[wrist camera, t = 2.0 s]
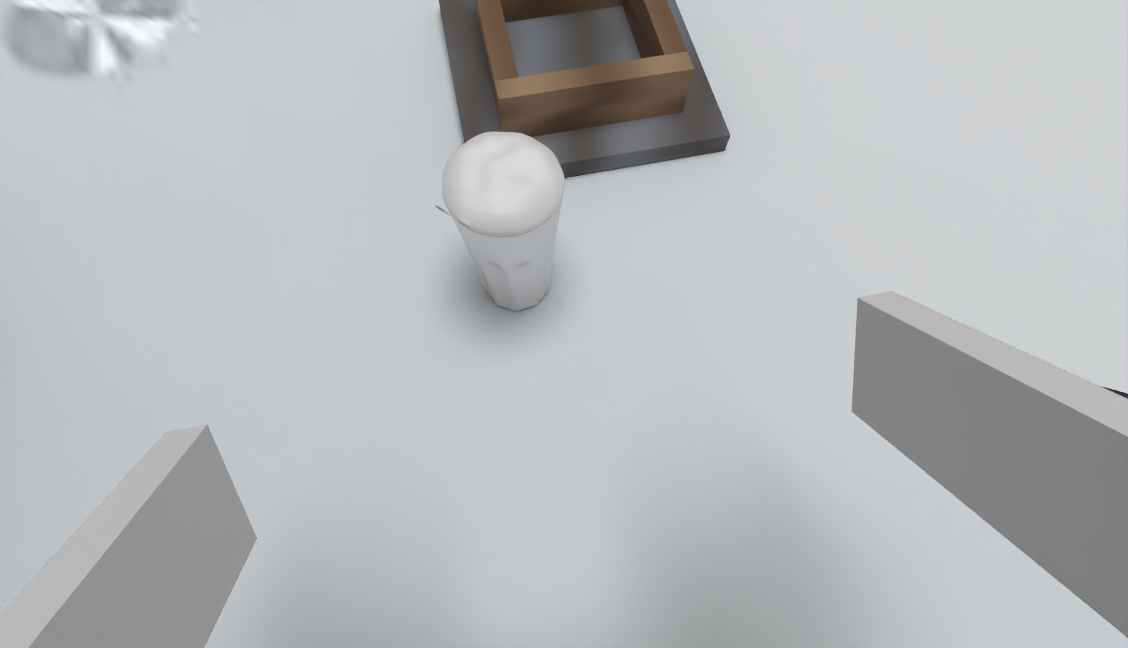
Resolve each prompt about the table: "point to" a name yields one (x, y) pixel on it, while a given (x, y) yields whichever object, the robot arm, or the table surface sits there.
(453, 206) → the milkshake
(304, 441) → the table surface
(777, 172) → the table surface
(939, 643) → the table surface
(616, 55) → the socket board
